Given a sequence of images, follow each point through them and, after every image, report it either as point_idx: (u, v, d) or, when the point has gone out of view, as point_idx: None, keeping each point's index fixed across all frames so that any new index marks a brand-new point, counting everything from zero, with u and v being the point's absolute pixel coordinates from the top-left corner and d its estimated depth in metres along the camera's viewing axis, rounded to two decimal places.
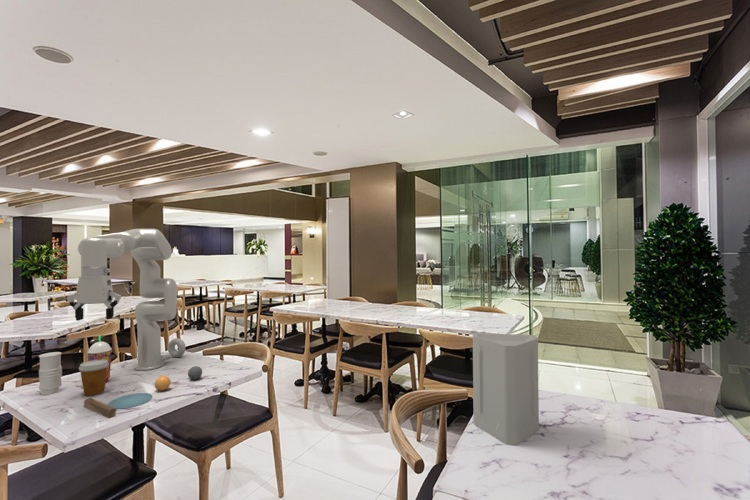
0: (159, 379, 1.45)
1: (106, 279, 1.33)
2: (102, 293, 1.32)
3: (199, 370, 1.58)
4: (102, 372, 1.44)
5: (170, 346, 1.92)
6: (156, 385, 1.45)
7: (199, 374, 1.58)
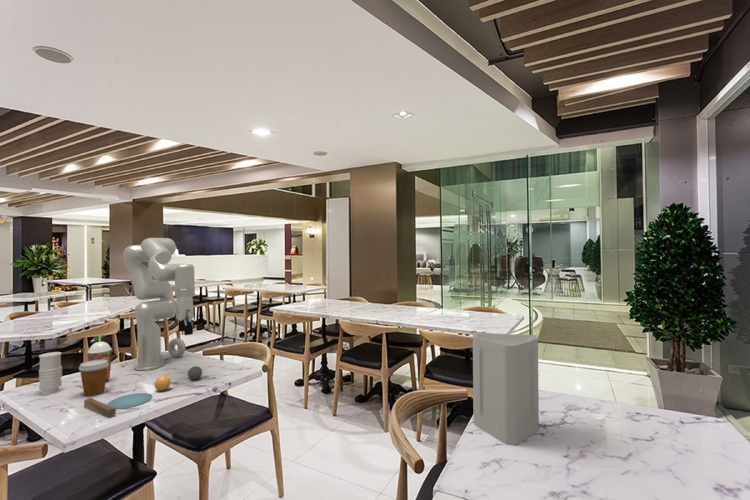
0: (159, 379, 1.45)
1: None
2: None
3: (199, 370, 1.58)
4: (102, 372, 1.44)
5: (170, 346, 1.92)
6: (156, 385, 1.45)
7: (199, 374, 1.58)
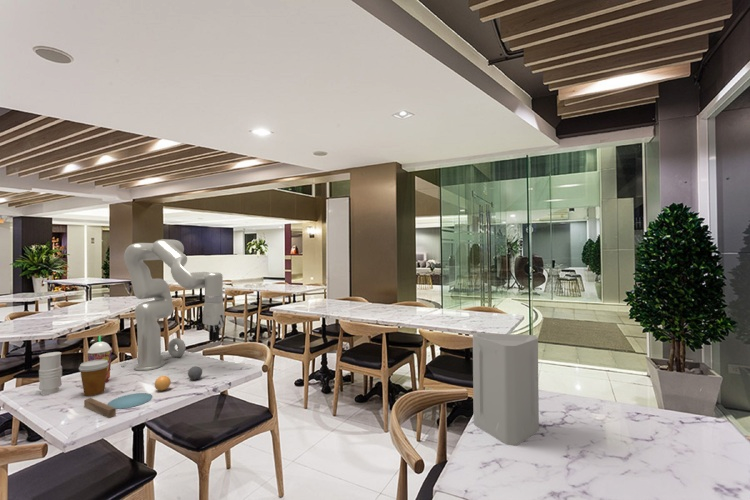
0: (159, 379, 1.45)
1: None
2: None
3: (199, 370, 1.58)
4: (102, 372, 1.44)
5: (170, 346, 1.92)
6: (156, 385, 1.45)
7: (199, 374, 1.58)
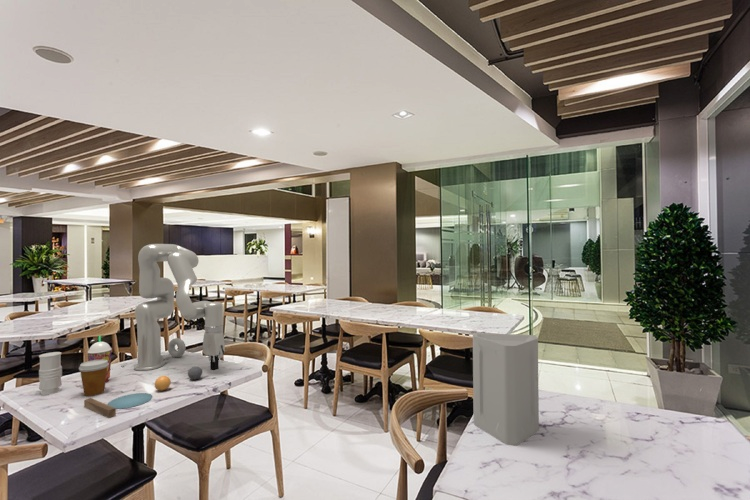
0: (159, 379, 1.45)
1: None
2: None
3: (199, 370, 1.58)
4: (102, 372, 1.44)
5: (170, 346, 1.92)
6: (156, 385, 1.45)
7: (199, 374, 1.58)
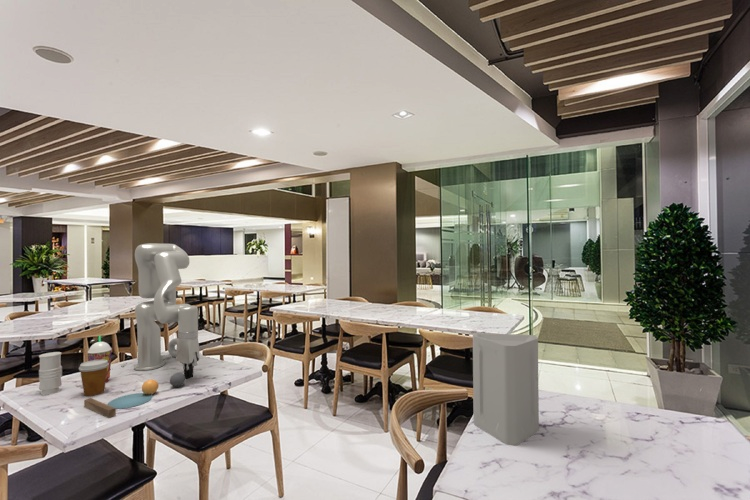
0: (146, 393, 1.41)
1: None
2: None
3: (179, 384, 1.49)
4: (102, 372, 1.44)
5: (170, 346, 1.92)
6: None
7: (182, 381, 1.50)
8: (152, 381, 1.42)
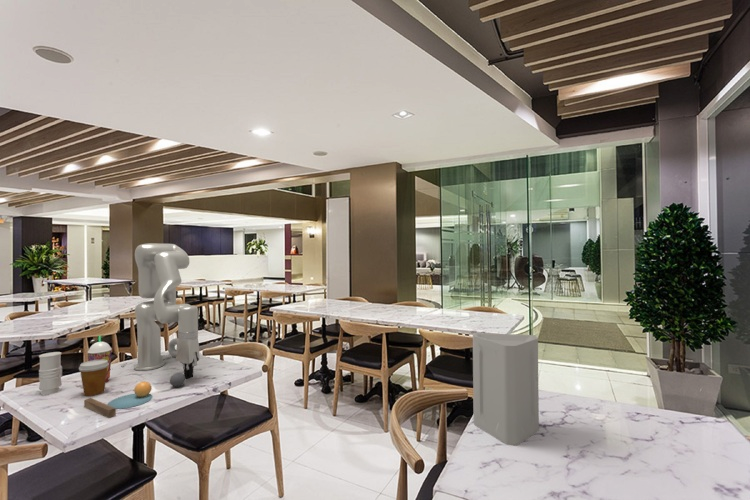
0: None
1: None
2: None
3: (179, 384, 1.49)
4: (102, 372, 1.44)
5: (170, 346, 1.92)
6: None
7: (182, 381, 1.50)
8: (139, 387, 1.39)
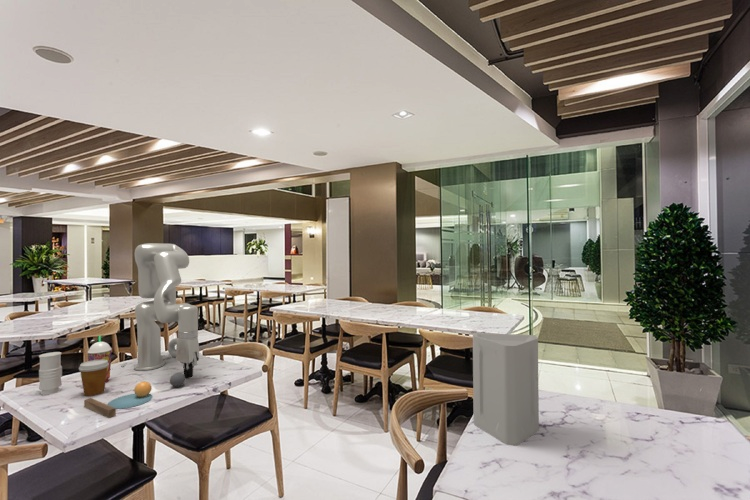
0: None
1: None
2: None
3: (179, 384, 1.49)
4: (102, 372, 1.44)
5: (170, 346, 1.92)
6: None
7: (182, 381, 1.50)
8: (139, 387, 1.39)
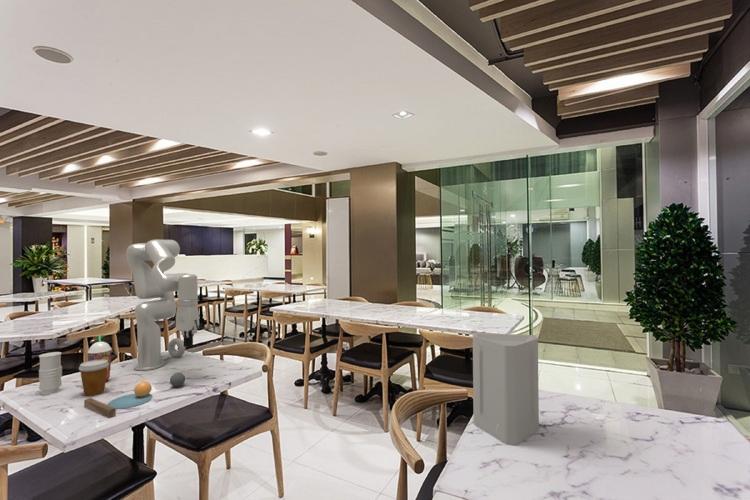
0: None
1: None
2: None
3: (179, 384, 1.49)
4: (102, 372, 1.44)
5: (170, 346, 1.92)
6: None
7: (182, 381, 1.50)
8: (139, 387, 1.39)
